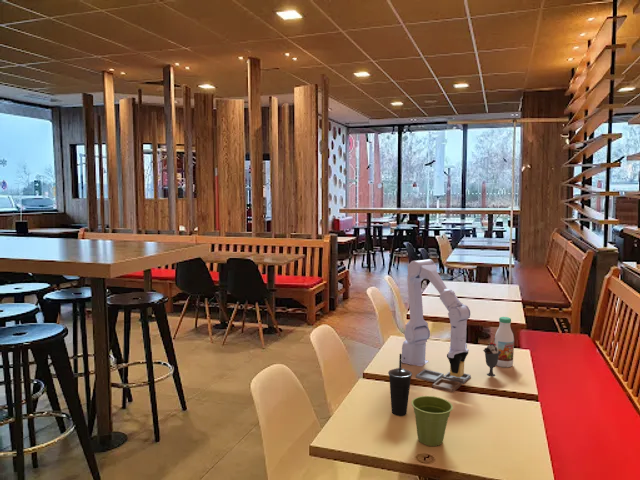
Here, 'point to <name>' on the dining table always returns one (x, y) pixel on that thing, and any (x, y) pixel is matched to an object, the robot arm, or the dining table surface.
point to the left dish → (429, 375)
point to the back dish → (457, 378)
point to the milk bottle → (505, 342)
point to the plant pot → (431, 418)
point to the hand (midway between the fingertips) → (457, 370)
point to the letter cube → (460, 371)
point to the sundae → (491, 357)
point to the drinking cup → (399, 389)
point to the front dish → (446, 385)
